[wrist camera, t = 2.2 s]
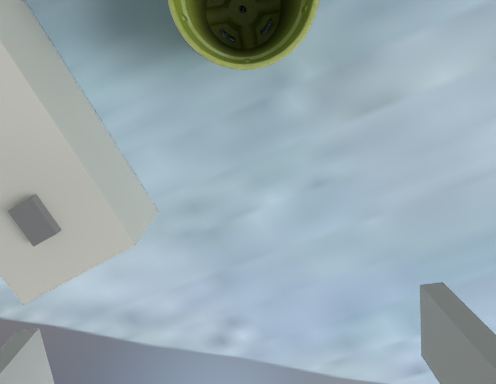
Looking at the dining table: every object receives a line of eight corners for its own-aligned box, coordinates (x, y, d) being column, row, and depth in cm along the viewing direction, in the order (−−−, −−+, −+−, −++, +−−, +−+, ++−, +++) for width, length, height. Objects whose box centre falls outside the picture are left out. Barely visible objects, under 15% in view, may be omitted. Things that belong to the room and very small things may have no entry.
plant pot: (325, -11, 33) (351, -42, 25) (262, 93, 35) (268, 97, 27) (223, -80, 32) (215, -138, 24) (165, 32, 34) (138, 16, 26)
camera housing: (-86, 47, 34) (-196, 35, 26) (13, -18, 33) (-68, -52, 24) (67, 260, 39) (17, 310, 31) (158, 211, 38) (132, 248, 29)
